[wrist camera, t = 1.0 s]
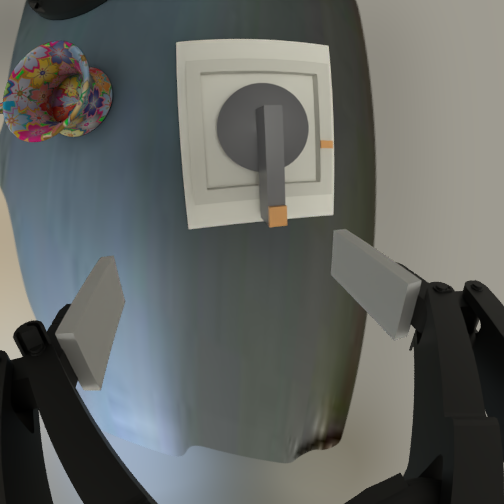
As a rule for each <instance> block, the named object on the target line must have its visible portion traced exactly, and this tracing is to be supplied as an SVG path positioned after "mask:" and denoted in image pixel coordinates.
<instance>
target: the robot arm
mask: <svg viewBox="0 0 504 504" xmlns="http://www.w3.org/2000/svg"><path fill="white" fill-rule="evenodd" d="M105 1H106V0H28V3H29V5H30V7H31V8H32V9H33V10H34V11H35V12H36V13H38V14H39V15H40V16H42V17H44V18H46V19H51V20H61V19H67V18H72V17H75V16H78V15H81V14H83V13H85V12H88V11H90V10H92V9H93V8H95V7H97V6H99V5H100V4H102V3H103V2H105ZM331 275H332V276H333V277H334V278H335V279H336V280H337V281H338V282H339V283H340V284H341V285H342V286H343V287H344V289H345V290H346V291H347V292H348V293H349V294H350V295H351V296H352V297H353V298H354V299H355V300H356V301H357V302H358V303H359V304H360V305H361V306H362V307H363V308H364V309H365V310H366V311H367V312H368V313H369V314H370V316H371V317H372V318H373V319H374V320H375V321H376V322H377V323H378V324H379V325H380V326H381V327H382V328H383V329H384V330H385V331H386V333H387V334H388V335H389V336H390V337H391V338H392V339H393V340H394V341H395V340H397V339H400V338H403V337H406V336H407V335H408V332H409V329H410V325H412V326H413V327H414V328H415V329H416V330H415V333H414V336H413V340H412V343H411V346H410V349H409V350H412V347H414V369H415V370H414V372H415V373H414V377H415V378H414V410H413V426H412V438H411V448H410V456H409V463H408V467H407V470H406V472H405V474H404V476H402V475H401V473H399V474H397V475H395V476H393V477H391V478H388V479H387V480H385V481H382V482H380V483H378V484H376V485H373V486H371V487H369V488H366V489H365V490H364V491H362V492H361V493H359V494H358V495H357V496H355V497H354V498H352V499H351V500H349V501H348V502H346V503H345V504H504V469H503V462H504V306H503V305H502V304H501V302H500V301H499V300H498V299H497V298H496V296H495V295H494V294H493V293H492V292H491V291H490V290H489V288H488V287H486V286H485V285H484V284H482V283H481V282H479V281H476V280H475V281H467V282H466V283H465V286H464V290H463V291H454V290H453V288H452V287H451V286H449V285H447V284H445V283H441V282H431V283H428V282H426V281H425V280H424V279H422V278H421V277H419V276H418V275H417V274H414V272H412V271H411V270H409V269H408V268H407V267H405V266H404V265H402V264H400V263H397V262H394V261H393V260H392V259H390V258H389V257H387V256H386V255H384V254H383V253H381V252H380V251H378V250H377V249H375V248H374V247H372V246H371V245H369V244H368V243H366V242H365V241H363V240H362V239H360V238H359V237H357V236H356V235H354V234H352V233H351V232H349V231H348V230H346V229H341V230H334V234H333V251H332V266H331ZM124 304H125V299H124V295H123V292H122V288H121V284H120V280H119V276H118V272H117V268H116V263H115V259H114V256H107V257H100V259H99V260H98V262H97V264H96V265H95V267H94V268H93V270H92V271H91V273H90V274H89V276H88V278H87V279H86V281H85V282H84V284H83V286H82V287H81V289H80V290H79V292H78V294H77V295H76V297H75V299H74V300H73V302H72V304H66V305H65V306H64V307H63V308H62V309H61V310H59V312H58V314H57V315H56V317H55V319H54V320H53V322H52V325H50V327H49V329H48V331H47V332H46V329H45V327H44V325H43V323H42V322H41V321H37V320H36V321H29V322H27V323H24V324H23V325H21V326H20V327H19V328H17V330H16V331H15V332H14V336H13V338H14V340H15V342H16V344H17V346H18V348H19V350H20V352H21V354H22V356H23V357H21V358H17V359H13V360H10V359H9V357H8V355H7V353H6V352H5V351H2V350H0V504H53V501H52V497H51V492H50V488H49V484H48V479H47V474H46V469H45V463H44V457H43V450H42V442H41V433H40V423H39V412H40V415H41V417H42V419H43V422H44V425H45V428H46V430H47V432H48V435H49V437H50V440H51V442H52V444H53V446H54V449H55V451H56V453H57V455H58V457H59V459H60V461H61V463H62V465H63V467H64V469H65V471H66V473H67V475H68V477H69V479H70V481H71V483H72V484H73V486H74V488H75V490H76V491H77V493H78V495H79V496H80V498H81V500H82V501H83V503H84V504H157V502H156V501H155V500H154V499H153V498H152V497H151V496H150V495H149V494H148V492H147V491H146V490H145V489H144V488H143V486H142V485H141V484H140V483H139V482H138V481H137V479H136V478H135V477H134V476H133V474H132V473H131V472H130V471H129V469H128V468H127V467H126V466H125V464H124V463H123V462H122V460H121V459H120V457H119V456H118V455H117V453H116V452H115V450H114V449H113V448H112V446H111V445H110V443H109V442H108V440H107V439H106V437H105V436H104V434H103V433H102V431H101V430H100V428H99V427H98V425H97V424H96V422H95V420H94V419H93V417H92V416H91V414H90V412H89V411H88V409H87V407H86V405H85V404H84V402H83V400H82V398H81V397H80V395H79V393H78V391H77V390H76V388H75V387H76V384H77V381H79V383H80V385H81V386H82V388H83V390H101V387H102V383H103V379H104V375H105V371H106V367H107V363H108V359H109V355H110V351H111V348H112V344H113V340H114V337H115V333H116V330H117V327H118V323H119V320H120V317H121V314H122V310H123V307H124ZM479 320H480V323H481V328H480V330H479V332H478V331H477V330H476V327H477V324H478V322H479ZM485 411H486V414H487V416H488V417H486V414H485Z"/></svg>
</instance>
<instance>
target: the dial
mask: <svg viewBox="0 0 504 504" xmlns="http://www.w3.org/2000/svg"><path fill="white" fill-rule="evenodd" d="M308 132H309V125H308V119H307V115H306V112H305V110H304V108H303V106H302V104H301V103H300V101H299V100H298V99H297V98H296V97H295V96H294V95H293V94H292V93H291V92H289V91H288V90H286V89H285V88H283V87H281V86H278V85H275V84H270V83H255V84H250V85H247V86H244V87H242V88H240V89H239V90H237V91H236V92H234V93H233V94H232V95H231V96H230V97H229V98H228V99H227V100H226V102H225V103H224V104H223V106H222V107H221V110H220V112H219V115H218V118H217V136H218V140H219V143H220V145H221V147H222V149H223V151H224V152H225V153H226V155H227V156H228V157H229V158H230V159H231V160H232V161H234V162H235V163H236V164H238V165H240V166H242V167H244V168H246V169H249V170H252V171H256V172H259V190H260V215H261V218H262V219H263V220H264V221H265V222H266V224H267V225H268V226H269V227H277V226H287V206H286V205H285V167H286V166H288V165H289V164H291V163H292V162H293V161H294V160H295V159H297V158H298V156H299V155H300V154H301V152H302V151H303V149H304V147H305V145H306V142H307V138H308Z"/></svg>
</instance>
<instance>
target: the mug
mask: <svg viewBox="0 0 504 504" xmlns="http://www.w3.org/2000/svg"><path fill="white" fill-rule="evenodd" d="M111 102H112V87H111V83H110V81H109V79H108V77H107V76H106V75H105V74H104V73H103V72H102V71H101V70H99V69H97V68H93V67H89V66H88V62H87V59H86V57H85V55H84V53H83V52H82V51H81V50H80V49H79V48H78V47H77V46H75V45H74V44H72V43H69V42H66V41H52V42H48V43H45V44H42V45H40V46H38V47H37V48H35V49H33V50H32V51H31V52H29V53H28V54H27V55H26V56H25V57H24V58H23V59H22V60H21V61H20V62H19V63H18V65H17V66H16V67H15V69H14V70H13V72H12V74H11V76H10V78H9V80H8V82H7V85H6V88H5V92H4V97H3V102H2V103H0V114H4V119H5V122H6V124H7V126H8V128H9V130H10V131H11V132H12V133H13V134H14V135H15V136H16V137H17V138H19V139H21V140H23V141H27V142H40V141H44V140H47V139H50V138H51V137H53V136H55V135H57V134H58V133H61V134H63V135H65V136H70V137H77V136H82V135H85V134H87V133H89V132H91V131H92V130H94V129H95V128H96V127H97V126H98V125H99V124H100V123H101V122H102V121H103V120H104V118H105V117H106V115H107V113H108V111H109V109H110V106H111Z"/></svg>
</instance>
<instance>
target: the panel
mask: <svg viewBox="0 0 504 504" xmlns="http://www.w3.org/2000/svg"><path fill="white" fill-rule="evenodd" d="M176 59H177V91H178V112H179V129H180V144H181V157H182V169H183V180H184V191H185V201H186V210H187V219H188V228H189V229H195V228H204V227H213V226H222V225H231V224H240V223H250V222H260V221H264V220H263V219H262V218H261V215H260V190H259V172H256V171H252V170H249V169H246V168H244V167H242V166H240V165H238V164H236V163H235V162H234V161H232V160H231V159H230V158H229V157H228V156H227V155H226V153H225V152H224V151H223V149H222V147H221V145H220V143H219V140H218V136H217V118H218V115H219V112H220V110H221V107H222V106H223V104H224V103H225V102H226V100H227V99H228V98H229V97H230V96H231V95H232V94H233V93H234V92H236V91H237V90H239V89H240V88H242V87H244V86H247V85H250V84H255V83H270V84H275V85H278V86H281V87H283V88H285V89H286V90H288V91H289V92H291V93H292V94H293V95H294V96H295V97H296V98H297V99H298V100H299V101H300V103H301V104H302V106H303V108H304V110H305V112H306V115H307V119H308V125H309V132H308V138H307V142H306V145H305V147H304V149H303V151H302V152H301V154H300V155H299V156H298V158H297V159H295V160H294V161H293V162H292V163H291V164H289V165H288V166H286V167H285V205H286V206H287V219H291V218H302V217H313V216H325V215H333V207H334V127H333V102H332V84H331V69H330V57H329V46H326V45H319V44H311V43H302V42H292V41H280V40H262V39H213V40H195V41H183V42H176Z"/></svg>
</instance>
